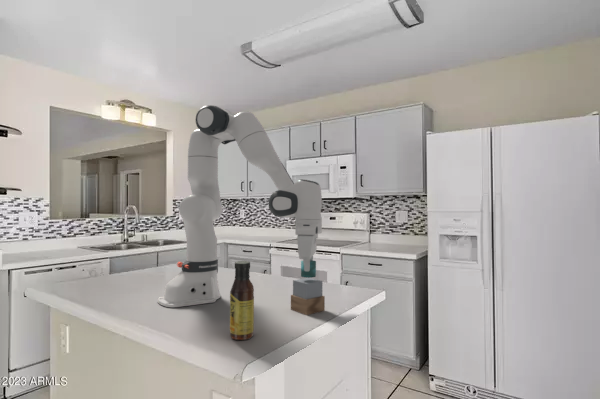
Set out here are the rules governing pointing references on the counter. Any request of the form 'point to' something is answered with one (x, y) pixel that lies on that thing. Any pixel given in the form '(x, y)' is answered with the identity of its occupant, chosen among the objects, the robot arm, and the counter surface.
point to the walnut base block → (307, 305)
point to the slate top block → (307, 288)
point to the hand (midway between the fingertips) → (308, 269)
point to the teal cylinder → (309, 273)
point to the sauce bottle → (242, 303)
